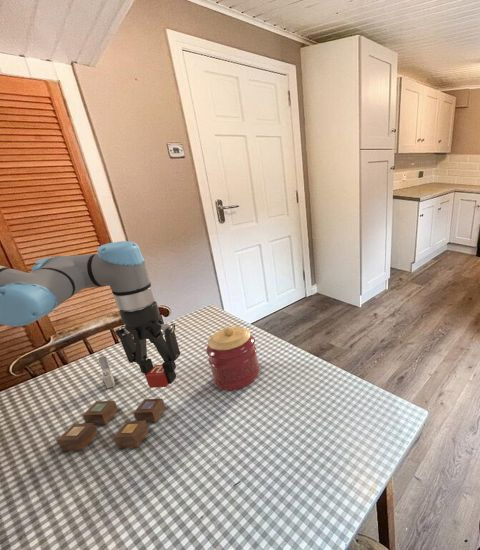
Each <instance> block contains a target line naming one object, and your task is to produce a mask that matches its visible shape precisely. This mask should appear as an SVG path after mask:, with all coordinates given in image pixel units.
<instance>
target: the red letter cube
mask: <svg viewBox="0 0 480 550" xmlns="http://www.w3.org/2000/svg"><path fill="white" fill-rule="evenodd" d="M145 380H146V382H147V385H148V387H149V388H150V389H153V388H154V389H155V388H168V386H169V385H170V384H168V381H167V378H166V375H165V372H164V369H163V366H162V364H154V365H153V368H152V369H151V370H150V371H149V372H148V374H147V375H146V377H145Z"/></svg>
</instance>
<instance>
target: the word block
mask: <svg viewBox="0 0 480 550" xmlns="http://www.w3.org/2000/svg"><path fill="white" fill-rule="evenodd" d="M98 434H99V433H98V431H97V428H96V425H94V424H93V423H86V422H84V423H73V424H72V425H71V426H70V427H69V428H68V429H67V430H66V431H65V432H63V434H62V435H60V436H59V438H57V439H56V442H57V444H58V445H59V447H60V449H61V451H62V452H76V451H77V452H78V451H84V450H85V449H86V448H87V447H88V446H89V445H90V443H92V441H93V440H94V439H95V438H96V436H98Z"/></svg>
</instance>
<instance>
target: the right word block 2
mask: <svg viewBox="0 0 480 550" xmlns="http://www.w3.org/2000/svg"><path fill="white" fill-rule="evenodd" d="M165 405H166V404H165V403H164V400H163V398H144V399H143V400H142V401H141V403H140V404H139V405H138V406H137V407H136V409H135V410H134V411H133V415H134V419H135V421H145V420H146V423H147V424H148V423H149V424H150V423H157V421H158V420H159V419H160V417H161V416H162V415H163V413H164V411H165V410H166V406H165Z"/></svg>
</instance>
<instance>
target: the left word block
mask: <svg viewBox="0 0 480 550" xmlns="http://www.w3.org/2000/svg"><path fill="white" fill-rule="evenodd" d="M118 412H119V408H118V406H117V404H116V401H115V400H100V401H99V400H97V401H95V402H94V403H93V404H92V405H91V406H90V407H89V408H88V409H87V410H86V411H84V413H83V414H82V415H81V416H82V418H83V420H84V423H93V424H94V426H106V425H107V424H108V423H109V422H110V421H111V420H112V418H114V416H115V415H116V414H117V413H118Z"/></svg>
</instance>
